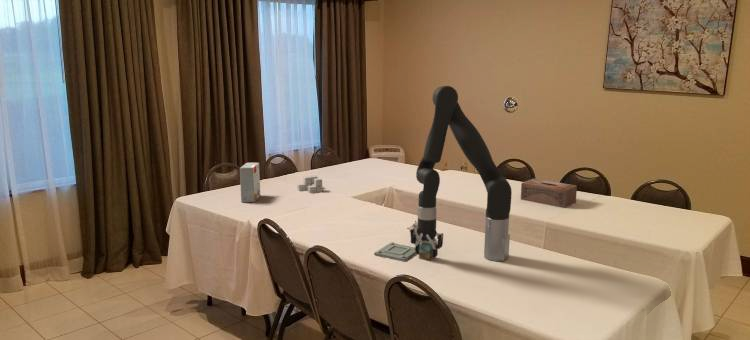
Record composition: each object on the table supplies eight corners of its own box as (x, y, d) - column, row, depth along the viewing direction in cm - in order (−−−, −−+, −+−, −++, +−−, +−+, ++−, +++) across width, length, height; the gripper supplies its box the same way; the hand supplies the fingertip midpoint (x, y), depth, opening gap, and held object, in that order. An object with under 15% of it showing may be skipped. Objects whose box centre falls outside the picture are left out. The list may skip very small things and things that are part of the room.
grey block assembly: (297, 189, 328) (296, 177, 327) (315, 187, 333) (315, 175, 332) (303, 194, 318) (303, 181, 316) (322, 192, 323) (322, 179, 321)
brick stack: (433, 257, 220) (434, 243, 218) (429, 260, 216) (429, 246, 214) (423, 255, 222) (424, 241, 221) (419, 258, 218) (419, 244, 217)
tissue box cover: (575, 203, 297) (577, 185, 295) (564, 208, 287) (565, 190, 285) (532, 195, 314) (533, 178, 312) (520, 199, 304) (521, 182, 302)
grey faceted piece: (416, 248, 239) (407, 235, 233) (410, 236, 246) (401, 222, 240) (433, 239, 239) (425, 225, 233) (427, 227, 246) (419, 213, 240)
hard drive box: (254, 202, 300) (252, 167, 296) (241, 202, 301) (238, 167, 296) (260, 195, 316) (259, 162, 311) (248, 195, 316) (246, 162, 311)
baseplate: (419, 250, 227) (419, 247, 226) (404, 261, 215) (404, 257, 215) (390, 244, 234) (390, 241, 234) (374, 255, 222) (374, 251, 222)
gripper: (447, 216, 215) (446, 256, 218) (415, 211, 222) (414, 249, 225) (439, 221, 208) (438, 262, 212) (406, 216, 216) (406, 255, 219)
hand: (426, 255), depth 219 cm, fingers open, 6 cm apart
